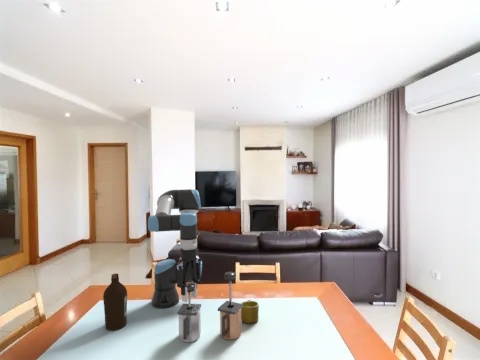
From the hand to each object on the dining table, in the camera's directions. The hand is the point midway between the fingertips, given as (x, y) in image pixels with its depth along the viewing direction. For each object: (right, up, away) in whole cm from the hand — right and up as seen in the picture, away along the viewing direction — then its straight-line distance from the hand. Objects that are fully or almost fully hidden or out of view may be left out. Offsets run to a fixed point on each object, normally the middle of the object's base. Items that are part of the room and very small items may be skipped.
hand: (189, 299), depth 129 cm
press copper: (+18, -17, +1) cm, 25 cm away
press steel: (0, -17, -1) cm, 17 cm away
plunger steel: (0, -12, 0) cm, 12 cm away
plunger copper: (+18, -7, +2) cm, 20 cm away
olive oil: (-37, -17, +10) cm, 42 cm away
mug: (+28, -17, +17) cm, 36 cm away
